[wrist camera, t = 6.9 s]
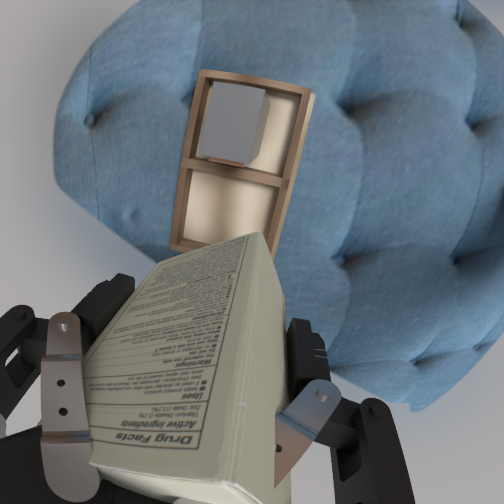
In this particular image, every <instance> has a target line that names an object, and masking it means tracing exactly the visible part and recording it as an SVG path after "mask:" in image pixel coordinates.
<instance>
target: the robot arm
mask: <svg viewBox="0 0 504 504" xmlns="http://www.w3.org/2000/svg"><path fill="white" fill-rule="evenodd" d="M134 291H135V280H134V277H131V276H128V275H124V274H121V273H118V274H117V275H116V276H115V277H114V278H113V279H112V280H111V281H108V280H106V281H103V282H101V283H99V284H97V285H96V286H95V287H94V288H93V289H92V291H91V292H89V293H88V294H87V296H86V297H84V298H83V299H82V300H81V302H79V304H78V305H76V307H75V308H74V309H73V310H72V311H71V312H60V313H57V314H55V315H53V316H52V317H51V318H50V320H49V319H43V318H36V317H35V314H34V311H33V309H32V308H31V307H29V306H27V305H17V306H15V307H13V308H11V309H10V310H9V311H8V312H6V313H5V314H4V315H3V316H2V317H1V318H0V504H211V503H205V502H201V501H196V500H191V499H187V498H183V497H180V498H179V499H178V500H176V501H175V502H174V503H168V502H164V501H161V500H157V499H154V498H151V497H147V496H144V495H141V494H139V493H136V492H133V491H130V490H128V489H125V488H123V487H120V486H118V485H115V484H113V483H111V481H108V480H106V479H104V478H103V477H102V475H101V474H100V472H99V470H98V469H97V467H95V466H93V465H91V464H89V460H90V458H91V456H92V454H93V451H92V444H91V438H90V430H89V422H88V412H87V401H86V392H85V368H84V359H83V357H84V356H85V354H86V353H87V352H88V350H89V349H90V347H91V346H92V345H93V343H94V342H95V341H96V339H97V338H98V337H99V336H100V334H101V333H102V332H103V331H104V329H105V328H106V326H107V325H108V324H109V322H110V321H111V320H112V318H113V317H114V316H115V315H116V313H117V312H118V311H119V310H120V308H121V307H122V306H123V305H124V303H125V302H126V301H127V300H128V298H129V297H130V296H131V295H132V293H133V292H134ZM286 336H287V359H288V384H289V404H290V405H289V406H288V407H287V408H286V409H285V411H284V412H282V413H281V412H280V413H278V414H277V415H276V416H275V445H276V447H277V449H278V453H277V452H275V458H274V489H275V488H276V487H277V486H278V484H279V483H280V482H281V481H282V480H283V479H284V477H285V476H286V475H287V474H288V473H289V472H290V470H291V469H292V468H293V466H294V465H295V464H296V463H297V462H298V460H299V459H300V458H301V457H302V455H303V454H304V453H305V452H306V450H307V449H308V447H309V446H310V445H311V444H312V442H313V441H315V442H317V443H320V444H323V445H326V446H329V447H330V452H331V462H332V471H333V480H334V491H335V504H415V499H414V495H413V491H412V487H411V482H410V478H409V474H408V470H407V466H406V463H405V459H404V455H403V451H402V448H401V444H400V441H399V437H398V434H397V430H396V427H395V424H394V420H393V418H392V414H391V411H390V409H389V407H388V406H387V405H386V404H385V403H384V402H383V401H381V400H379V399H376V398H367V399H365V400H363V401H362V403H361V404H359V403H356V402H353V401H350V400H348V399H345V398H343V397H342V396H341V392H340V390H339V389H338V387H337V386H335V385H334V384H333V383H331V377H330V371H329V366H328V360H327V355H326V352H325V351H326V349H325V344H324V341H323V339H322V338H321V337H320V335H319V334H318V333H313V332H312V331H311V324H310V321H309V320H304V319H299V318H293V319H292V321H291V323H290V326H289V328H288V331H287V334H286ZM16 348H17V350H18V353H17V354H16V355H15V357H14V358H13V359H12V360H11V361H10V362H9V363H8V364H7V366H6V367H5V363H6V360H7V358H8V357H9V356H10V355H11V354H12V353H13V352H14V351H15V349H16ZM40 373H41V417H42V424H41V425H39V426H36V427H33V428H30V429H28V430H25V431H22V432H19V433H16V434H13V435H10V436H6V433H5V431H6V419H7V418H8V416H9V415H10V414H11V412H12V411H13V409H14V408H15V407H16V405H17V404H18V403H19V401H20V400H21V398H22V397H23V396H24V394H25V393H26V392H27V390H28V389H29V388H30V386H31V385H32V384H33V382H34V381H35V380H36V379H37V377H38V376H39V375H40Z"/></svg>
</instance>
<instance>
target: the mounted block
mask: <svg viewBox="0 0 504 504" xmlns="http://www.w3.org/2000/svg"><path fill="white" fill-rule="evenodd" d="M269 108H270V102H269V99H268V96H267V93H266V90H265V89H260V88H254V87H249V86H243V85H237V84H230V83H223V82H216V81H214V82H213V87H212V91H211V95H210V100H209V104H208V109H207V114H206V118H205V123H204V128H203V133H202V138H201V143H200V149H199V155H205V156H210V159H209V161H214V162H219V163H224V164H229V165H234V166H239V167H243V168H244V167H245V166H246V165H248V164H249V163H251V162H252V161H253V160H254V159H255V158H257V157H258V156H259V152H260V148H261V143H262V139H263V134H264V130H265V126H266V121H267V117H268V113H269Z"/></svg>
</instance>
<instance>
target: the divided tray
mask: <svg viewBox="0 0 504 504" xmlns="http://www.w3.org/2000/svg"><path fill="white" fill-rule="evenodd" d="M214 81H216V82H223V83H230V84H237V85H243V86H249V87H254V88H260V89H265V90H266V93H267V96H268V99H269V102H270V108H269V113H268V117H267V121H266V126H265V130H264V134H263V139H262V143H261V148H260V152H259V156H258V157H257V158H255V159H254V160H253V161H252V162H251V163H249V164H248V165H246V166H245V167H244V168H243V167H239V166H234V165H229V164H224V163H219V162H214V161H209V159H210V156H205V155H199V149H200V143H201V138H202V133H203V128H204V123H205V118H206V114H207V109H208V104H209V100H210V95H211V91H212V87H213V82H214ZM311 90H312V89H310V88H306V87H302V86H298V85H294V84H290V83H285V82H281V81H276V80H271V79H266V78H261V77H255V76H250V75H243V74H237V73H230V72H223V71H214V70H205V69H200V71H199V75H198V80H197V84H196V88H195V93H194V97H193V102H192V106H191V111H190V116H189V121H188V126H187V131H186V137H185V142H184V148H183V153H182V159H181V165H180V172H179V178H178V185H177V192H176V199H175V206H174V214H173V222H172V231H171V240H170V249H169V250H173V251H177V252H181V253H187V252H190V251H193V250H196V249H199V248H203V247H206V246H209V245H212V244H216V243H219V242H222V241H225V240H229V239H232V238H236V237H239V236H243V235H246V234H250V233H254V232H262V234H263V235H264V238H265V241H266V244H267V246H268V249H269V252H270V255H271V258H272V261H274V258H275V254H276V250H277V247H278V243H279V239H280V236H281V232H282V228H283V224H284V220H285V217H286V213H287V209H288V205H289V201H290V197H291V193H292V190H293V186H294V182H295V178H296V174H297V170H298V166H299V162H300V158H301V154H302V150H303V146H304V142H305V138H306V133H307V129H308V125H309V121H310V117H311V112H312V108H313V104H314V100H315V95H316V94H313V93H311Z"/></svg>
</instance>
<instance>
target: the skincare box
mask: <svg viewBox="0 0 504 504" xmlns="http://www.w3.org/2000/svg"><path fill="white" fill-rule="evenodd" d="M83 359H84V368H85V392H86V401H87V412H88V422H89V430H90V438H91V444H92V451H93V454H92V456H91V458H90V460H89V464H91V465H93V466H95V467H97V469H98V470H99V472H100V474H101V475H102V477H103V478H104V479H106V480H108V481H111V483H113V484H115V485H118V486H120V487H123V488H125V489H128V490H130V491H133V492H136V493H139V494H141V495H144V496H147V497H151V498H154V499H157V500H161V501H164V502H168V503H174V502H175V501H176V500H178V499H179V498H180V497H183V498H187V499H191V500H196V501H201V502H205V503H211V504H291V470H290V472H289V473H288V474H287V475H286V476H285V477H284V479H283V480H282V481H281V482H280V483H279V484H278V486H277V487H276V488H275V489H274V458H275V452H277V453H278V449H277V447H276V445H275V416H276V415H277V414H278V413H280V412H281V413H282V412H284V411H285V409H286V408H287V407H288V406H289V405H290V404H289V384H288V359H287V336H286V317H285V299H284V295H283V292H282V289H281V286H280V282H279V279H278V276H277V273H276V270H275V267H274V264H273V261H272V258H271V255H270V252H269V249H268V246H267V244H266V241H265V238H264V235H263V234H262V232H254V233H250V234H246V235H243V236H239V237H236V238H232V239H229V240H225V241H222V242H219V243H216V244H212V245H209V246H206V247H203V248H199V249H196V250H193V251H190V252H187V253H184V254H180V255H178V256H175V257H172V258H169V259H166V260H163V261H161V262H159V263H157V265H156V266H155V267H154V268H153V270H152V271H151V272H150V273H149V274H148V275H147V276H146V278H145V279H144V280H143V281H142V282H141V284H140V285H139V286H138V287H137V289H136V290H135V291H134V292H133V293H132V295H131V296H130V297H129V298H128V300H127V301H126V302H125V303H124V305H123V306H122V307H121V308H120V310H119V311H118V312H117V313H116V315H115V316H114V317H113V318H112V320H111V321H110V322H109V324H108V325H107V326H106V328H105V329H104V331H103V332H102V333H101V334H100V336H99V337H98V338H97V339H96V341H95V342H94V343H93V345H92V346H91V347H90V349H89V350H88V352H87V353H86V354H85V356H84V357H83ZM41 424H42V418H41V420H40V422H39V423H38V425H37V426H39V425H41Z"/></svg>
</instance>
